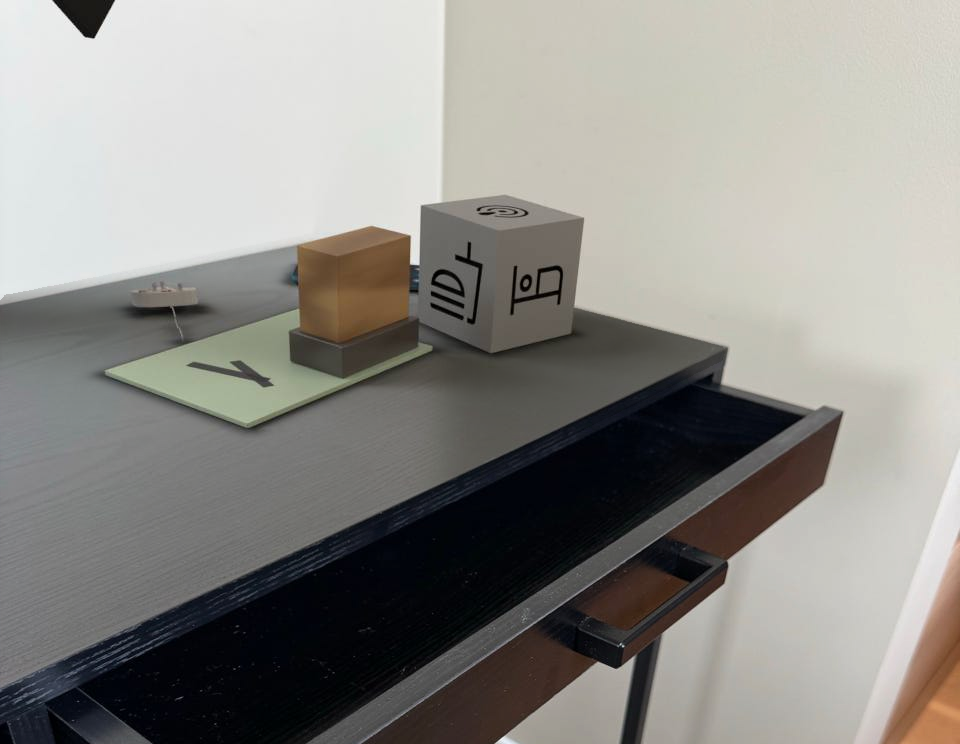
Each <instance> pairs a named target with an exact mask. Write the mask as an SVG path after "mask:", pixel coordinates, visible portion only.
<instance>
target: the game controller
mask: <svg viewBox="0 0 960 744" xmlns="http://www.w3.org/2000/svg"><path fill="white" fill-rule="evenodd" d="M159 284H160V286H159V287H158V285H157V283H156V282H153V283H152V284H151V287H152V290H148V289H135V290H134V289H133V290H130V297H131V302H132V306H133V307H134V306H135V307H138V308H161V307H163V308H164V307H170V308H169V309H172V312H173V316H174V317H173V318H174V322H175V326H176V329H177V330H179V334H180V336H181V337H180V338H181V343H184V342H185V341H184V335H183V331H182V329H181V327H179V325H178V321H177V316H176V311H175V309H174V307H179V306H181V307H182V306H191V305H197V304H199V299H198V297H199V296H198V291H197V290H198V289H197V287H183V283H182V282H178V283H177V287H178V288H177V289H175V288H173V287H169V286H165V281H163V280H160V282H159Z"/></svg>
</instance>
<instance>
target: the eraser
mask: <svg viewBox="0 0 960 744" xmlns="http://www.w3.org/2000/svg"><path fill="white" fill-rule="evenodd" d="M411 246H412V235H410V234H408V233H407V234H406V233H402V232H399V231H395V230H390V229H387V228H382V227H378V226H373V225H369V226H365V227H362V228H358V229H354V230H351V231H345V232H342V233H339V234H334V235H330V236H327V237H323V238H318V239H315V240H312V241H307V242H304V243H300V244H297V245H296V256H297V257H296V260H297V264H298V281H297V284H298V285H297V287H298V309H299V313H300V327H298V328H295V329H292V330H289V346H290V361H291V362H294V363H297V364H300V365H303V366H306V367H309V368H312V369H315V370H318V371H321V372H324V373H327V374H330V375H333V376H336V377H339V378H342V379H344V378H346V377H348V376H351V375H353V374H355V373H358V372H360V371H363V370H365V369H367V368H370V367H372V366H374V365H377V364H379V363H382V362H384V361H386V360H389V359H391V358H393V357H396V356H398V355H401V354H403V353H405V352H408V351H410V350H412V349H415V348H417V347H418V342H420V341H419V338H420V336H419V335H420V322H419V318H418V316H413V315H411V314H410V290H409V286H410V265H411V251H412V250H411V248H412V247H411Z"/></svg>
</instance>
